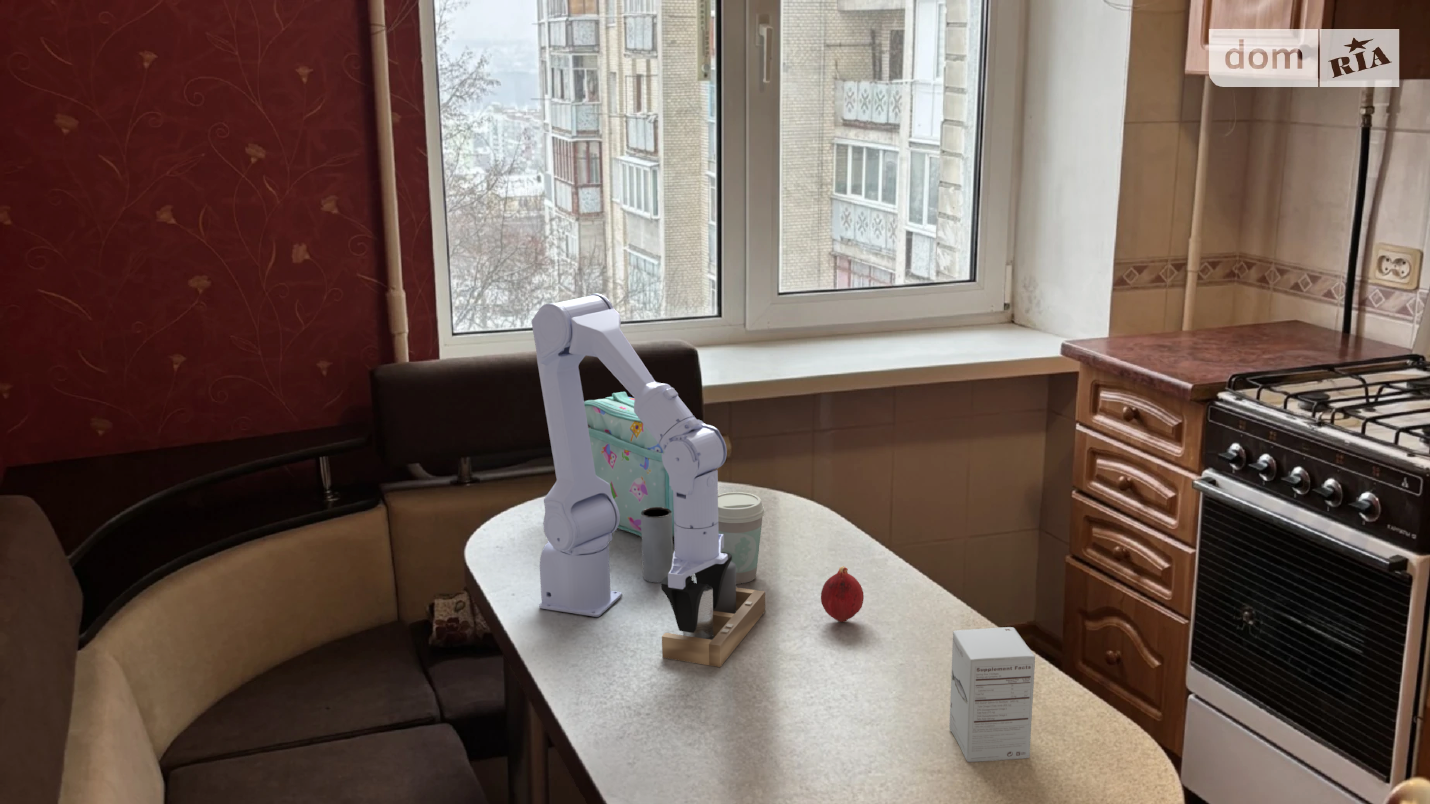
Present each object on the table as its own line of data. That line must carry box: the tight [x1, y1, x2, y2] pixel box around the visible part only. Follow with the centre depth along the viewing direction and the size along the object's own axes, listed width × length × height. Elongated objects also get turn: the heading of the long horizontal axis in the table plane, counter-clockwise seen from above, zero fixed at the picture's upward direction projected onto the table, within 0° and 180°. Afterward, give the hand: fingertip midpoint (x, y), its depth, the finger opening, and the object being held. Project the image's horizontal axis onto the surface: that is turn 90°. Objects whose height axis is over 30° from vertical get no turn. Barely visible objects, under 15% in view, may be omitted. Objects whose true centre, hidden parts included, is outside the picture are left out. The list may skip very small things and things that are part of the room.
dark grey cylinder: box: [713, 562, 737, 614], centre depth 173 cm, size 4×4×8 cm
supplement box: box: [948, 626, 1036, 763], centre depth 141 cm, size 7×7×13 cm
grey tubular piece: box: [641, 507, 674, 583], centre depth 188 cm, size 4×4×10 cm
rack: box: [661, 586, 766, 668], centre depth 170 cm, size 8×18×3 cm, turn 159°
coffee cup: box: [718, 491, 766, 585], centre depth 187 cm, size 8×9×12 cm
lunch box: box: [584, 391, 674, 538], centre depth 208 cm, size 27×10×21 cm, turn 43°
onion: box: [820, 565, 865, 623], centre depth 172 cm, size 6×6×8 cm
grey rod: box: [682, 585, 715, 640], centre depth 166 cm, size 4×4×8 cm
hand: (698, 618), depth 166 cm, fingers open, 7 cm apart
